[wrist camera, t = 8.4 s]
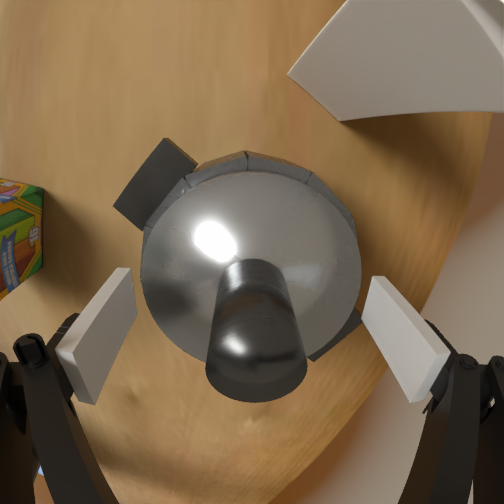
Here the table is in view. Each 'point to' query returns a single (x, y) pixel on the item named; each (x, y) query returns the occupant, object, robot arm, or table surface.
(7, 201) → the chalk box
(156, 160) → the pot
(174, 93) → the table surface
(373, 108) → the milk
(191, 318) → the lid
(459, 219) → the table surface
